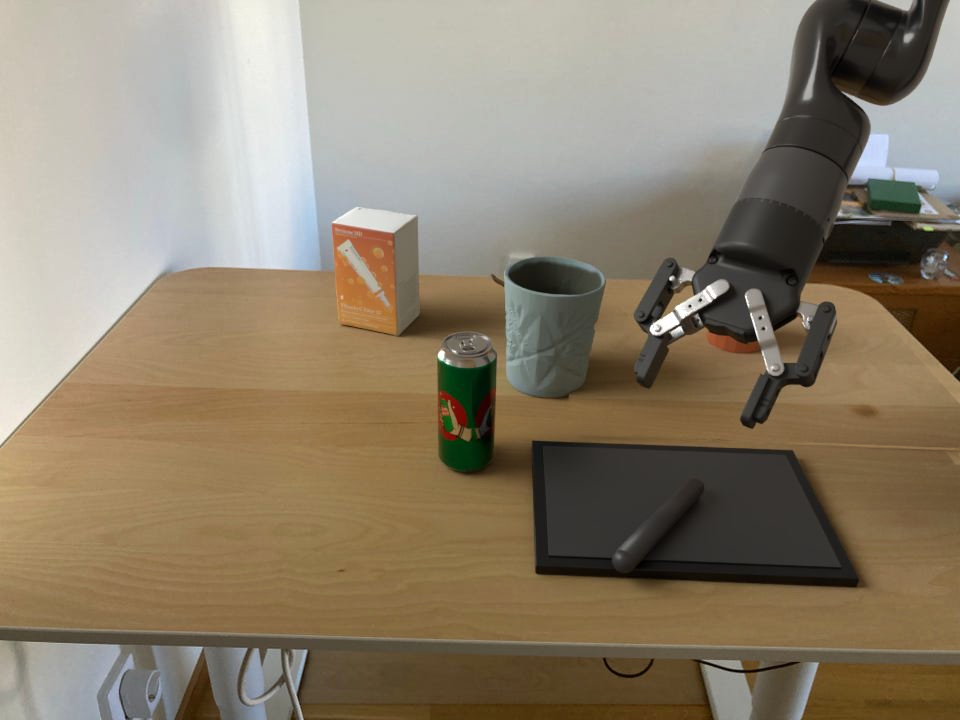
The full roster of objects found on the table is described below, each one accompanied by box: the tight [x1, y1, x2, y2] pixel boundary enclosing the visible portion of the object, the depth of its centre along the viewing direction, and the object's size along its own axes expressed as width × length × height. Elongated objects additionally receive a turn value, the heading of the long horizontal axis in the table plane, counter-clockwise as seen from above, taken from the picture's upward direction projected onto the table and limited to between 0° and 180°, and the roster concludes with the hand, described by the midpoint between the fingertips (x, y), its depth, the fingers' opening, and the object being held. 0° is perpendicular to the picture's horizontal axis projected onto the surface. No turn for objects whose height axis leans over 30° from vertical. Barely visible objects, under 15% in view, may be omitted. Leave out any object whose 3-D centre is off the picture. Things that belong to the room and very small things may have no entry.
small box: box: [331, 206, 421, 337], centre depth 91 cm, size 8×6×13 cm
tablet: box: [530, 439, 860, 588], centre depth 65 cm, size 24×16×1 cm, turn 88°
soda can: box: [436, 331, 498, 473], centre depth 68 cm, size 5×5×12 cm
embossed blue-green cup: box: [503, 255, 607, 399], centre depth 81 cm, size 10×10×12 cm
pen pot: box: [705, 328, 761, 354], centre depth 89 cm, size 6×6×7 cm
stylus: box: [612, 476, 704, 573], centre depth 61 cm, size 2×2×13 cm
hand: (692, 404), depth 59 cm, fingers open, 8 cm apart
